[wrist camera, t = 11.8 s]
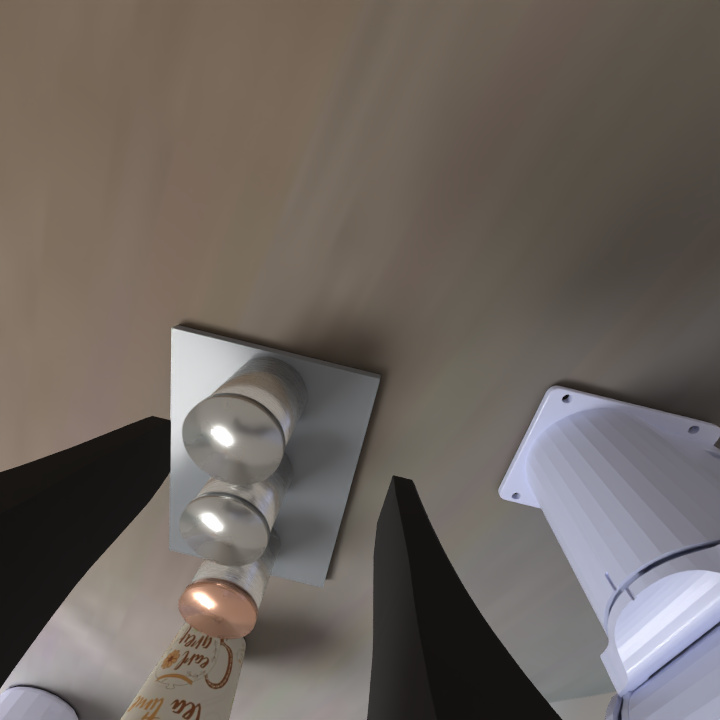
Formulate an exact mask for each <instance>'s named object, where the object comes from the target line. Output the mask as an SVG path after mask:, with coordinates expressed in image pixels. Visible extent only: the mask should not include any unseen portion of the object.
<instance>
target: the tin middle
mask: <svg viewBox="0 0 720 720" xmlns="http://www.w3.org/2000/svg"><path fill="white" fill-rule="evenodd" d="M292 477H293V467H292V464H291V462H290V460H289V458H288V457H287V455H286V454H285V453H284V456H283V458H282V460H281V462H280V464H279V466H278V468H277V469H276V471H275V472H274V473H273V474H272V475H271V476H270V477H268V478H267V479H265V480H263V481H261V482H258V483H255V484H250V485H235V484H229V483H226V482H222V481H220V480H217V479H215V478H213V477H210V479H209V480H208V481H207V483H206V484H205V486H204V487H203V488H202V490H201V491H200V492H199V494H198V495H197V496H196V497H195V498H194V499H193V500H191V502H190V503H189V504H188V505H187V507H186V508H185V509H184V511H183V512H182V514H181V516H180V520H179V528H180V532H181V535H182V537H183V539H184V540H185V542H186V543H187V545H188V546H189V547H190V548H191V549H192V550H193V551H194V552H196V553H197V554H198V555H200V556H201V557H203V558H205V559H207V560H209V561H211V562H213V563H216V564H220V565H224V566H244V565H248V564H251V563H253V562H255V561H256V560H258V559H259V558H260V557H261V556H262V555H263V553H264V551H265V549H266V547H267V544H268V542H269V538H270V532H271V529H272V527H273V524H274V522H275V520H276V517H277V515H278V512H279V510H280V507H281V505H282V503H283V500H284V498H285V495H286V493H287V490H288V488H289V485H290V483H291V481H292Z"/></svg>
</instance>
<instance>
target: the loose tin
mask: <svg viewBox="0 0 720 720" xmlns="http://www.w3.org/2000/svg"><path fill="white" fill-rule="evenodd" d="M280 546H281V542H280V538H279V535H278V534H277V532H276V531H275V529H274V528H273V527H272V529H271V532H270V538H269V542H268V544H267V547H266V549H265V551H264V553H263V555H262V556H261V557H260V558H259V559H258V560H256V561H255V562H253V563H251V564H248V565H244V566H224V565H220V564H216V563H213V562H211V561H209V560H207V559H204V561H203V563H202V564H201V566H200V568H199V570H198V571H197V573H196V575H195V577H194V578H193V580H192V582H191V584H189V585H188V586H187V587H186V589H185V591H184V593H183V594H182V596H181V598H180V600H179V611H180V613H181V615H182V617H183V618H184V620H185V621H186V622H187V623H188V624H189V625H190V626H192V627H193V628H194V629H196V630H197V631H199V632H201V633H203V634H205V635H208V636H211V637H215V638H220V639H237V638H241V637H244V636H246V635H247V634H249V633H250V632H251V631H252V630H253V628H254V626H255V623H256V620H257V617H258V609H259V606H260V604H261V601H262V598H263V595H264V592H265V589H266V587H267V584H268V581H269V578H270V575H271V573H272V570H273V567H274V564H275V561H276V558H277V556H278V553H279V550H280Z"/></svg>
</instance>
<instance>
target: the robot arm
mask: <svg viewBox="0 0 720 720" xmlns="http://www.w3.org/2000/svg"><path fill="white" fill-rule="evenodd" d="M565 395H569V397H568V398H567V399H565V400H562V398H563V397H564V396H565ZM692 426H693V427H692ZM690 427H692V428H691V429H689V428H690ZM719 437H720V427H718V426H716V425H715V424H712V423H709V422H705V421H701V420H697V419H693V418H688V417H684V416H680V415H676V414H672V413H668V412H664V411H660V410H656V409H652V408H648V407H644V406H639V405H635V404H631V403H627V402H623V401H619V400H615V399H611V398H607V397H603V396H599V395H595V394H591V393H586V392H582V391H578V390H574V389H570V388H566V387H562V386H552V387H551V388H549V389H548V390H547V392H546V394H545V396H544V398H543V400H542V402H541V404H540V406H539V408H538V410H537V412H536V414H535V416H534V418H533V420H532V422H531V424H530V426H529V428H528V430H527V432H526V434H525V436H524V438H523V440H522V442H521V444H520V446H519V448H518V450H517V452H516V454H515V456H514V458H513V460H512V462H511V465H510V467H509V469H508V471H507V473H506V475H505V477H504V479H503V481H502V483H501V485H500V487H499V490H498V491H499V494H500V497H501V498H502V499H505V500H509V501H513V502H517V503H521V504H525V505H529V506H533V507H537V508H541V509H542V511H543V513H544V515H545V517H546V519H547V521H548V522H549V524H550V526H551V528H552V530H553V532H554V534H555V536H556V538H557V540H558V542H559V544H560V546H561V547H562V549H563V551H564V553H565V555H566V557H567V559H568V561H569V563H570V565H571V567H572V569H573V571H574V573H575V574H576V576H577V578H578V580H579V582H580V584H581V586H582V588H583V590H584V592H585V594H586V596H587V598H588V600H589V601H590V603H591V605H592V607H593V609H594V611H595V613H596V615H597V617H598V619H599V621H600V623H601V625H602V627H603V628H604V630H605V632H606V634H607V636H608V638H609V644H608V646H607V648H606V650H605V651H604V652H603V653H602V654H601V656H600V657H601V659H602V661H603V663H604V666H605V668H606V670H607V672H608V674H609V676H610V678H611V680H612V682H613V684H614V686H615V689H616V691H617V694H616V695H615V696H613V697H612V699H611V701H610V703H609V705H608V707H607V711H606V716H605V720H720V449H718V448H717V447H715V446H714V444H715V443H716V441H717V440H718V439H719ZM170 471H171V420H167V419H163V418H159V417H154V416H151V417H148V418H145V419H142V420H140V421H137V422H135V423H132V424H129V425H127V426H124V427H122V428H119V429H117V430H114V431H112V432H110V433H107V434H105V435H102V436H99V437H97V438H94V439H92V440H89V441H87V442H84V443H82V444H79V445H77V446H74V447H72V448H69V449H66V450H63V451H60V452H58V453H55V454H52V455H49V456H47V457H44V458H41V459H38V460H36V461H33V462H30V463H27V464H24V465H21V466H18V467H15V468H12V469H9V470H6V471H3V472H0V688H1V687H2V685H3V684H4V682H5V681H6V679H7V678H8V677H9V675H10V674H11V672H12V671H13V669H14V668H15V666H16V665H17V664H18V662H19V661H20V659H21V658H22V657H23V655H24V654H25V653H26V651H27V650H28V648H29V647H30V646H31V644H32V643H33V642H34V640H35V639H36V637H37V636H38V635H39V633H40V632H41V631H42V629H43V628H44V626H45V625H46V624H47V622H48V621H49V620H50V618H51V617H52V616H53V614H54V613H55V612H56V610H57V609H58V608H59V606H60V605H61V604H62V603H63V601H64V600H65V599H66V597H67V596H68V595H69V593H70V592H71V591H72V589H73V588H74V587H75V585H76V584H77V583H78V582H79V581H80V579H81V578H82V577H83V576H84V575H85V573H86V572H87V571H88V570H89V569H90V567H91V566H92V565H93V564H94V563H95V562H96V561H97V560H98V559H99V557H100V556H101V555H102V554H103V553H104V552H105V551H106V550H107V548H108V547H109V546H110V545H111V544H112V543H113V542H114V541H115V540H116V538H117V537H118V536H119V535H120V534H121V533H122V532H123V531H124V530H125V528H126V527H127V526H128V525H129V524H130V523H131V522H132V521H133V519H134V518H135V517H136V516H137V515H138V514H139V513H140V512H141V510H142V509H143V508H144V507H145V506H146V505H147V503H148V502H149V501H150V500H151V499H152V497H153V496H154V494H155V493H156V492H157V490H158V489H159V488H160V486H161V485H162V483H163V482H164V480H165V479H166V477H167V476H168V474H169V473H170ZM514 493H517V494H515V495H512V494H514ZM367 720H562V719H561V718H560V716H559V715H558V714H557V713H556V712H555V711H554V710H553V708H552V707H551V706H550V704H549V703H548V702H547V701H546V700H545V698H544V697H543V696H542V695H541V693H540V692H539V691H538V690H537V689H536V687H535V686H534V685H533V684H532V682H531V681H530V680H529V679H528V677H527V676H526V675H525V674H524V672H523V671H522V670H521V668H520V667H519V666H518V664H517V663H516V662H515V660H514V659H513V658H512V656H511V655H510V654H509V652H508V651H507V650H506V648H505V647H504V645H503V644H502V643H501V641H500V640H499V639H498V637H497V636H496V635H495V633H494V632H493V631H492V629H491V628H490V626H489V625H488V623H487V622H486V620H485V619H484V617H483V616H482V614H481V613H480V611H479V610H478V608H477V607H476V605H475V603H474V602H473V600H472V599H471V597H470V596H469V594H468V592H467V591H466V589H465V587H464V586H463V584H462V582H461V581H460V579H459V577H458V575H457V574H456V572H455V570H454V568H453V566H452V564H451V563H450V561H449V559H448V557H447V555H446V553H445V551H444V549H443V548H442V546H441V543H440V541H439V539H438V537H437V535H436V533H435V531H434V529H433V527H432V525H431V523H430V521H429V518H428V516H427V514H426V511H425V509H424V507H423V505H422V502H421V500H420V497H419V495H418V492H417V490H416V487H415V485H414V483H413V481H412V480H410V479H406V478H402V477H398V476H394V475H393V477H392V480H391V483H390V486H389V489H388V492H387V495H386V498H385V501H384V504H383V507H382V510H381V513H380V516H379V519H378V522H377V530H376V539H375V548H374V579H373V658H372V670H371V682H370V694H369V705H368V716H367Z"/></svg>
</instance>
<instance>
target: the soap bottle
mask: <svg viewBox="0 0 720 720" xmlns="http://www.w3.org/2000/svg"><path fill="white" fill-rule="evenodd" d="M0 720H79V719H78V717H77V715H76V713H75V711H74V709H73V708H72V707H71V706H70V705H69V704H68V703H67V702H65V701H64V700H62V699H61V698H59V697H58V696H56V695H54V694H51V693H49V692H47V691H44V690H41V689H37V688H33V687H14V688H10V689H7V690H5V691H4V692H3V693H2V694H1V695H0Z"/></svg>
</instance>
